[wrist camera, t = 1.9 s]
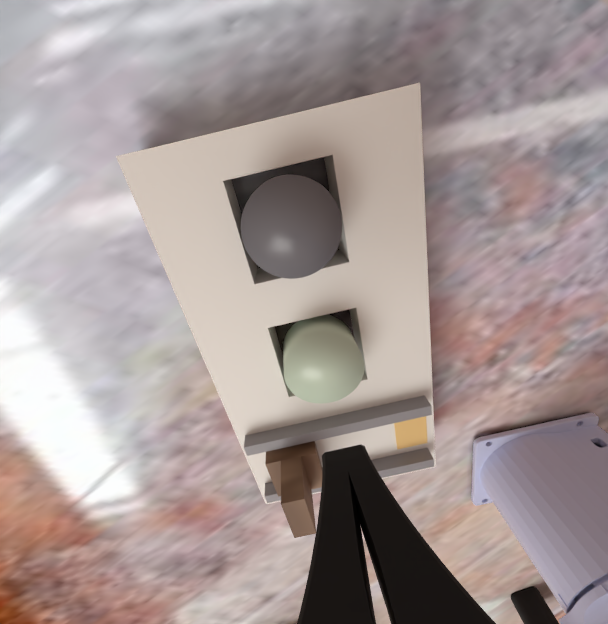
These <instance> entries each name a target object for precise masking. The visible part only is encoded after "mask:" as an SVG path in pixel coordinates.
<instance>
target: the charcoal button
mask: <svg viewBox="0 0 608 624" xmlns="http://www.w3.org/2000/svg"><path fill="white" fill-rule="evenodd" d="M341 235H342V218H341V214H340V210H339V208H338V205H337V203H336V201H335V199H334V198H333V196H332V195H331V194H330V193H329V192H328V190H327V189H326V188H324V187H323V186H322V185H321V184H319V183H318V182H316V181H314V180H312V179H310V178H308V177H304V176H300V175H292V174H287V175H279V176H276V177H273V178H271V179H269V180H267V181H266V182H264V183H263V184H262V185H260V186H259V187H258V188H257V189H256V190H255V191H254V192H253V193H252V195H251V196H250V197H249V199H248V201H247V202H246V205H245V207H244V210H243V213H242V218H241V236H242V240H243V243H244V246H245V249H246V251H247V252H248V254H249V256H250V257H251V259H252V260H253V261H254V262H255V263H256V264H257V265H258V266H259V267H260V268H261V269H263V270H264V271H266V272H268V273H270V274H272V275H274V276H277V277H281V278H288V279H295V278H302V277H306V276H309V275H311V274H314V273H316V272H317V271H319V270H320V269H322V268H323V267H324V266H325V265H326V264H327V263H328V262H329V261H330V260H331V259H332V257H333V256H334V254H335V253H336V251H337V249H338V246H339V243H340V240H341Z"/></svg>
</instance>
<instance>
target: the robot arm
mask: <svg viewBox="0 0 608 624" xmlns="http://www.w3.org/2000/svg"><path fill="white" fill-rule="evenodd" d="M598 421H599V417H598V416H597V415H596V414H594V413H587V414H582V415H578V416H573V417H569V418H564V419H559V420H555V421H550V422H546V423H541V424H537V425H532V426H528V427H523V428H519V429H514V430H510V431H505V432H501V433H496V434H492V435H487V436H482V437H479V438H477V439H475V440H474V443H473V467H472V494H471V500H472V502H473V504H474V505H482V504H487V503H492V502H493V503H494V504H495V506H496V507H497V509H498V511H499V512H500V514H501V515H502V517H503V518H504V520H505V521H506V523H507V524H508V526H509V527H510V529H511V530H512V532H513V533H514V535H515V537H516V538H517V540H518V541H519V543H520V544H521V546H522V547H523V549H524V550H525V552H526V553H527V555H528V556H529V558H530V559H531V561H532V563H533V564H534V566H535V567H536V569H537V570H538V572H539V573H540V575H541V576H542V578H543V579H544V581H545V582H546V584H547V585H548V587H549V589H550V590H551V592H552V593H553V595H554V596H555V598H556V599H557V601H558V602H559V604H560V605H561V607H562V608H563V610H564V612H565V613H566V615H565V616H563V617H562V618H560V619H559V622H560V624H608V433H607V432H605V431H604V430H603V429H602V428H600V427H599V426H598ZM360 525H361V526H360ZM361 528H362V531H363V534H364V538H365V541H366V544H367V547H368V550H369V553H370V557H371V560H372V563H373V566H374V569H375V572H376V576H377V579H378V582H379V585H380V588H381V591H382V594H383V598H384V601H385V604H386V607H387V610H388V614H389V617H390V621H391V624H496V623H495V622H494V621H493V620H492V619H491V618H490V617H489V616H488V615H487V614H486V613H485V612H484V610H483V609H482V608H481V607H480V606H479V605H478V604H477V603H476V601H475V600H474V599H473V598H472V597H471V596H470V595H469V593H468V592H467V591H466V590H465V589H464V588H463V586H462V585H461V584H460V583H459V582H458V581H457V579H456V578H455V577H454V576H453V575H452V573H451V572H450V571H449V570H448V569H447V568H446V566H445V565H444V564H443V563H442V561H441V560H440V559H439V558H438V556H437V555H436V554H435V553H434V551H433V550H432V549H431V548H430V546H429V545H428V544H427V543H426V541H425V540H424V539H423V537H422V536H421V535H420V533H419V532H418V531H417V529H416V528H415V527H414V525H413V524H412V523H411V521H410V520H409V519H408V517H407V516H406V514H405V513H404V511H403V510H402V509H401V507H400V506H399V504H398V503H397V501H396V500H395V498H394V497H393V495H392V494H391V492H390V491H389V489H388V488H387V486H386V485H385V483H384V481H383V480H382V478H381V476H380V475H379V473H378V471H377V470H376V468H375V466H374V464H373V462H372V461H371V459H370V457H369V455H368V453H367V450H366V448H365V446H363V445H361V444H360V445H356V446H351V447H347V448H342V449H338V450H333V451H329V452H325V453H324V454H323V455H322V489H321V501H320V509H319V517H318V525H317V532H316V537H315V543H314V549H313V554H312V560H311V566H310V571H309V575H308V580H307V585H306V589H305V594H304V598H303V602H302V606H301V611H300V615H299V619H298V622H297V624H376V621H375V616H374V610H373V603H372V597H371V591H370V584H369V578H368V571H367V565H366V558H365V552H364V546H363V539H362V533H361Z"/></svg>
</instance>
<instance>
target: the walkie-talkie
mask: <svg viewBox="0 0 608 624" xmlns="http://www.w3.org/2000/svg"><path fill="white" fill-rule="evenodd" d="M511 600H512V602H513V604H514V606H515V608H516V610H517V611H518V613H519V615H520V617H521V619H522V621H523V622H524V624H559V623H558V621H557V620H556V618H555V616H554V615H553V613H552V612H551V610H550V608H549V607H548V605H547V604H546V602H545V600H544V599H543V597H542V596H541V594H540V592H539V591H538V590H537V588H534V587H531V588H528V589H525V590H522V591H519V592H516V593H514V594H512V596H511Z"/></svg>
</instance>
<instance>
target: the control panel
mask: <svg viewBox="0 0 608 624" xmlns="http://www.w3.org/2000/svg"><path fill="white" fill-rule="evenodd" d="M116 157H117V160H118V162H119V164H120V167H121V169H122V171H123V174H124V176H125V178H126V181H127V183H128V185H129V188H130V190H131V192H132V195H133V197H134V199H135V202H136V204H137V206H138V209H139V211H140V213H141V215H142V218H143V220H144V222H145V225H146V227H147V229H148V232H149V234H150V236H151V239H152V241H153V243H154V246H155V248H156V250H157V253H158V255H159V257H160V260H161V262H162V264H163V266H164V269H165V271H166V273H167V276H168V278H169V280H170V283H171V285H172V287H173V290H174V292H175V294H176V297H177V299H178V301H179V304H180V306H181V308H182V311H183V313H184V315H185V317H186V320H187V322H188V324H189V327H190V329H191V331H192V334H193V336H194V338H195V341H196V343H197V345H198V348H199V350H200V352H201V355H202V357H203V359H204V362H205V364H206V366H207V368H208V371H209V373H210V375H211V378H212V380H213V382H214V385H215V387H216V389H217V392H218V394H219V396H220V399H221V401H222V403H223V406H224V408H225V410H226V413H227V415H228V417H229V419H230V422H231V424H232V426H233V429H234V431H235V433H236V436H237V438H238V440H239V443H240V445H241V447H242V450H243V452H244V454H245V457H246V459H247V461H248V464H249V466H250V468H251V470H252V473H253V475H254V477H255V480H256V482H257V484H258V487H259V489H260V491H261V494H262V496H263V498H264V501H265V503H266V504H270V503H274V502H279V501H281V496H279V497H278V495H277V492H276V490H275V487H274V485H273V482H272V480H271V477H270V475H269V472H268V470H267V467H266V465H265V461H266V452H267V451H272V450H276V449H281V448H285V447H290V446H294V445H299V444H303V443H308V442H312V441H315V443H316V447H317V451H318V454H319V458H320V461H321V465H322V455H323V454H324V453H325V452H329V451H333V450H338V449H342V448H347V447H351V446H356V445H360V444H361V445H363V446H365V448H366V450H367V453H368V455H369V457H370V459H371V461H372V462H373V464H374V466H375V468H376V470H377V471H378V473H379V475H380V476H381V478H382V479H384V478H388V477H393V476H397V475H402V474H406V473H411V472H415V471H420V470H425V469H429V468H434V467H436V460H435V436H434V411H433V387H432V362H431V338H430V313H429V289H428V264H427V240H426V215H425V191H424V166H423V142H422V117H421V93H420V83H416V84H412V85H408V86H404V87H400V88H396V89H392V90H387V91H383V92H379V93H375V94H371V95H367V96H363V97H359V98H355V99H350V100H346V101H342V102H338V103H334V104H330V105H326V106H322V107H318V108H313V109H309V110H305V111H301V112H297V113H293V114H289V115H285V116H280V117H276V118H272V119H268V120H264V121H260V122H256V123H252V124H248V125H243V126H239V127H235V128H231V129H227V130H223V131H219V132H215V133H211V134H206V135H202V136H198V137H194V138H190V139H186V140H182V141H178V142H174V143H169V144H165V145H161V146H157V147H153V148H149V149H145V150H141V151H137V152H132V153H128V154H124V155H120V156H116ZM319 158H324V159H325V165H326V171H327V177H328V183H329V189H330V194H331V195H332V196H333V198H334V199H335V201H336V203H337V205H338V208H339V210H340V214H341V218H342V235H341V240H340V243H339V249H340V250H337V251H336V253H335V254H334V256H333V257H332V259H331V260H330V261H329V262H328V263H327V264H326V265H325V266H324V267H323V268H322V269H320V270H319V271H317V272H316V273H314V274H311V275H309V276H306V277H302V278H295V279H288V278H281V277H277V276H274V275H272V274H270V273H268V272H266V271H264V270H263V269H261V268H260V269H257V265H256V263H255V262H254V261H253V260H252V259H251V257H250V256H249V254H248V252H247V251H246V249H245V246H244V243H243V240H242V236H241V218H242V214H241V211H240V207H239V204H238V201H237V197H236V194H235V190H234V187H233V184H232V179H236V178H240V177H244V176H248V175H253V174H257V173H261V172H265V171H269V170H274V169H278V168H282V167H286V166H290V165H294V164H299V163H303V162H307V161H311V160H315V159H319ZM348 309H350V315H351V321H352V327H353V333H354V339H355V341H356V344H357V346H358V348H359V350H360V352H361V355H362V357H363V360H364V374H363V377H362V380H361V382H360V384H359V385H358V386H357V388H356V389H355V390H354V391H353V392H352V393H350V394H349V395H348V396H346V397H344V398H342V399H340V400H338V401H335V402H331V403H322V404H320V403H311V402H307V401H304V400H302V399H300V398H298V397H297V396H296V395H294V394H293V393H292V392H291V391H290V389H289V388H288V386H287V385H286V382H285V379H284V363H283V354H282V351H281V347H280V344H279V340H278V337H277V334H276V330H275V327H274V326H278V325H283V324H287V323H291V322H296V321H300V320H304V319H309V318H313V317H317V316H322V315H326V314H330V313H335V312H339V311H344V310H348ZM321 489H322V487H320V488H316V489H311V490H312V494H315V493H320V492H321Z"/></svg>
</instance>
